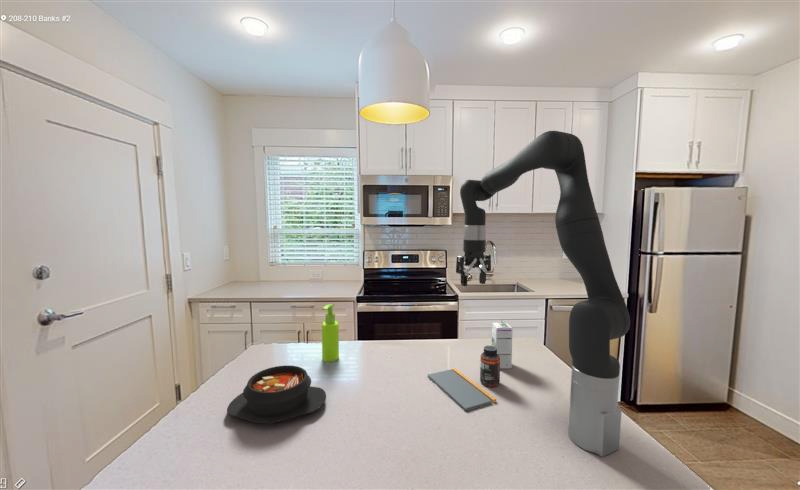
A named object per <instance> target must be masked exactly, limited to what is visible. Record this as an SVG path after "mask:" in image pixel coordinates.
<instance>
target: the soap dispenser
mask: <svg viewBox="0 0 800 490" xmlns="http://www.w3.org/2000/svg"><path fill="white" fill-rule="evenodd" d="M333 307H335V303H328V304H326V305H324V306H323V307H322V308H321V309H322V310H325V311H326V310H327V312H326V313H325V314H324V315H325V316H324V317H325V321H323V322H322V323H321V353H322V354H321V359H322V361H324V362H329V363H331V362H335V361H337V360H339V358H340V355H339V354H340V353H339V350H340V349H339V348H340V347H339V346H340V343H339V340H340V339H339V338H340V336H339V334H340V333H339V324H340V323H339V321H337V320H336V313H335V312H334V311H333Z"/></svg>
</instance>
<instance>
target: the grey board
mask: <svg viewBox="0 0 800 490" xmlns="http://www.w3.org/2000/svg"><path fill="white" fill-rule="evenodd" d="M427 378H428V379H429V380H431V382H432V383H433V384H434V385H435V386H437V387H438V388H439V389H441V391H442V392H443V393H445V395H447V396H448V397H449V399H451V400H452V401H453V402H454V403H455V404H457V406H459V407H460V408H461V409H462V410H463V411H464V412H468V411H471V410H475V409H477V408H481V407H485V406H487V405H490V404H493V403H497V398H496V397H494V395H492V394H490V393H489V392H488V391H486V390H485V389H484V388H482V387H481V386H480V385H478V384H477V383H475V381H473V380H471V379H470V378H469V377H467V376H466V375H465V374H464V373H463V372H462V371H460V370H458V369H457V368H456V367H454V368H453V367H452V368H451V369H446V370H441V371H439V372H438V371H437V372H435V373H434V372H433V373H428V374H427Z"/></svg>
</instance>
